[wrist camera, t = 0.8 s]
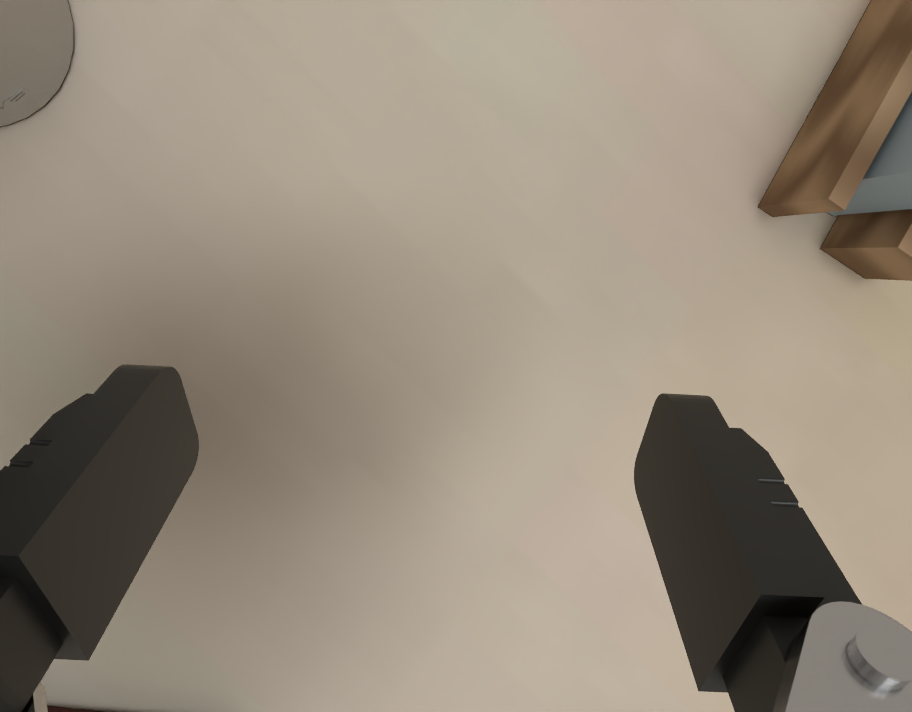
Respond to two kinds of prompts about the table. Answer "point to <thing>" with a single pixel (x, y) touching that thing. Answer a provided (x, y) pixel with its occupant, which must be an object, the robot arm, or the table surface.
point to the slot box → (854, 146)
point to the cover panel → (888, 172)
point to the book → (66, 710)
